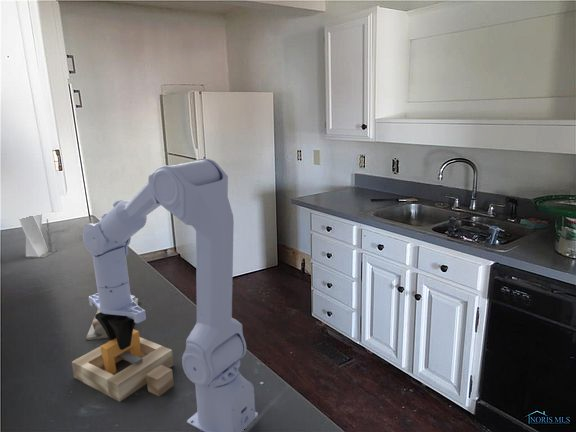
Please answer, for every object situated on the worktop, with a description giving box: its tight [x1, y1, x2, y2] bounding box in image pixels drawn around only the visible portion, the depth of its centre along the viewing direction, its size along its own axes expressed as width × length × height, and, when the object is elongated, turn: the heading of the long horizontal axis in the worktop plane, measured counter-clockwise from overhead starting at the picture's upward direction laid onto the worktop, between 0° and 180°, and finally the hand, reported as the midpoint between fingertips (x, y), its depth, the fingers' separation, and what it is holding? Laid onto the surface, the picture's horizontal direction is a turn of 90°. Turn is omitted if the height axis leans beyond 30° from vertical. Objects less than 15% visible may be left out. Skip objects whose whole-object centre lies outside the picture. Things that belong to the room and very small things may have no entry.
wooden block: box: [99, 329, 142, 375], centre depth 86 cm, size 2×7×6 cm, turn 147°
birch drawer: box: [71, 336, 175, 403], centre depth 86 cm, size 14×13×5 cm
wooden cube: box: [146, 365, 174, 397], centre depth 81 cm, size 3×4×4 cm
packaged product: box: [85, 297, 139, 341], centre depth 108 cm, size 18×5×10 cm
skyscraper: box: [18, 213, 57, 259], centre depth 153 cm, size 8×8×28 cm
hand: (121, 345), depth 85 cm, fingers closed on wooden block, 2 cm apart
